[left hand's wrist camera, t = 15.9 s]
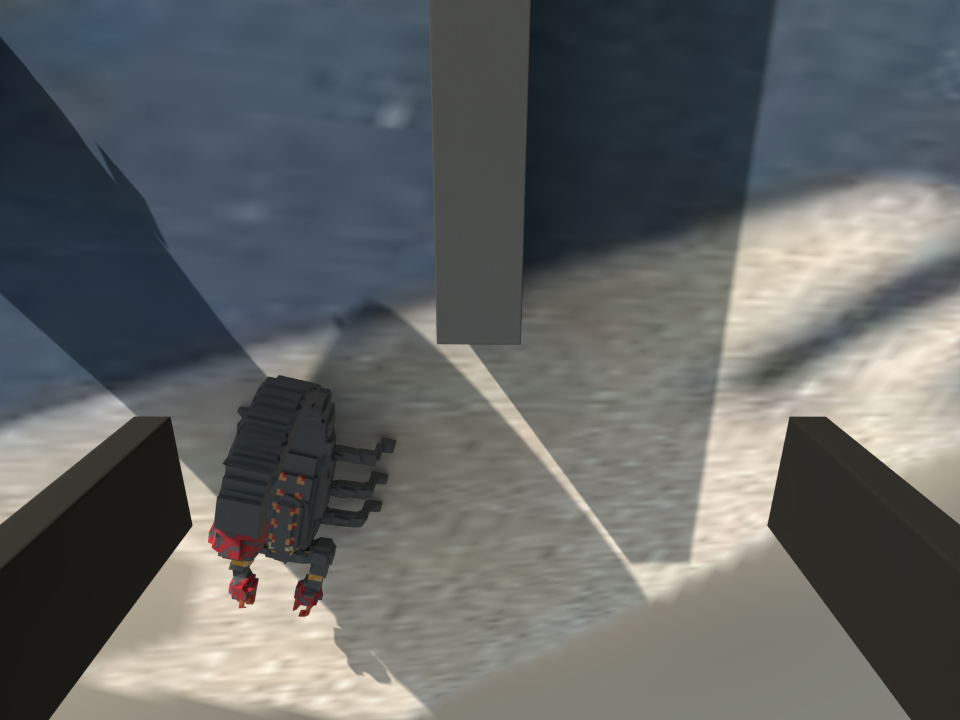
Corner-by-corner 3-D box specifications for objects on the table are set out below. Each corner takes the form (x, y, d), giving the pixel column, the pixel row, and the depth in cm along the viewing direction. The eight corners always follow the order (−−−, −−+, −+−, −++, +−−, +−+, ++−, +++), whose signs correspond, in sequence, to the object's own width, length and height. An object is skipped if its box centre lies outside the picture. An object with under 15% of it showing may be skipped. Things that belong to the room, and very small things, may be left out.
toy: (417, 344, 48) (382, 460, 31) (360, 599, 57) (309, 797, 40) (251, 306, 47) (119, 403, 30) (220, 572, 56) (105, 764, 39)
